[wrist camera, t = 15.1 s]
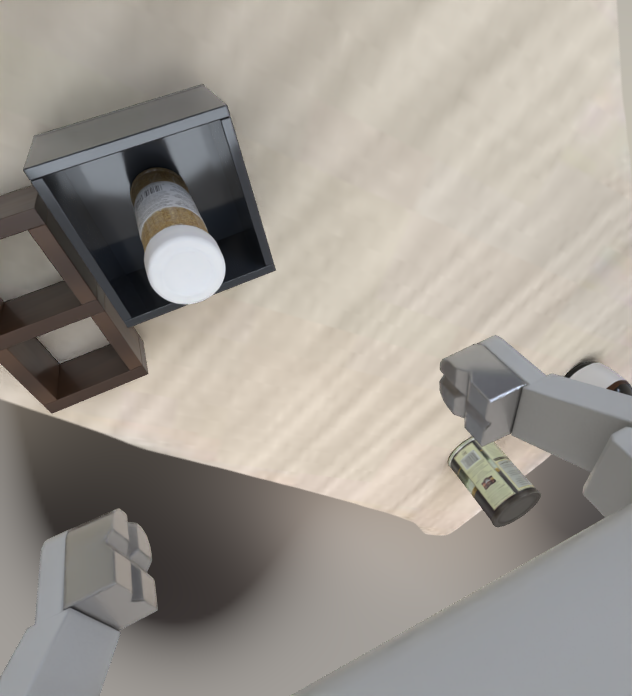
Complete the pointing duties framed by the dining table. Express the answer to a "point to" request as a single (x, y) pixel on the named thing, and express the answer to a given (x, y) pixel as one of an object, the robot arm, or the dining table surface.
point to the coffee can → (493, 481)
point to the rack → (61, 317)
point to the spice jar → (175, 239)
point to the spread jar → (600, 377)
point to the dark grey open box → (116, 181)
